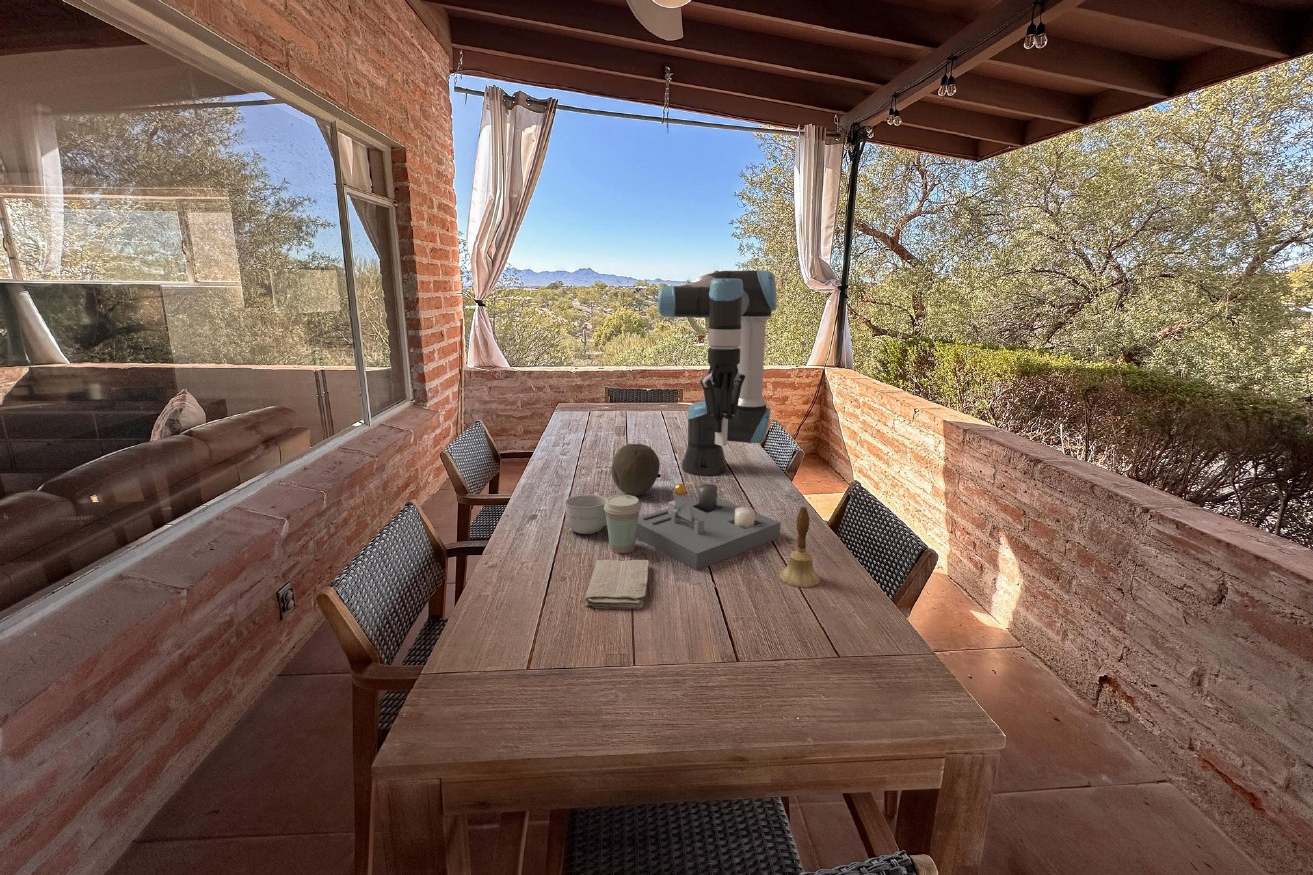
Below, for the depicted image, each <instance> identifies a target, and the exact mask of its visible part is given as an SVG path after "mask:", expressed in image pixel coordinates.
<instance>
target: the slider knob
mask: <svg viewBox="0 0 1313 875" xmlns="http://www.w3.org/2000/svg"><path fill="white" fill-rule="evenodd" d="M667 509H668V514H670V515H671V510H675V509H676V505H675V500H671V501H668V502H667Z"/></svg>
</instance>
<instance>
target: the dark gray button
mask: <svg viewBox="0 0 1313 875" xmlns="http://www.w3.org/2000/svg"><path fill="white" fill-rule="evenodd" d="M717 498H718V486H717V485H715V484H711V483H704V484H703V483H702V484H700V485H699V486H698V499H697V500H698V508H699V509H701V510H705V511H712V510H715V509H716V508H717Z"/></svg>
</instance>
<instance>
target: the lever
mask: <svg viewBox="0 0 1313 875" xmlns="http://www.w3.org/2000/svg"><path fill="white" fill-rule="evenodd" d="M673 489H674V490H673ZM673 489H672V495H673V501H675V505H676V509H677V513H678V514H677V517H678V518H680V519H682V520H684V521H686V522H688V523H691V524H693V525H694V521H695V520H696V518H695V513H694V509H693V505H692V501H693V500H692V497H691V496H692V495H691V494H690V493H687V486H686V485H685V484H683V483H678V484H676V485H675V486H674V488H673Z"/></svg>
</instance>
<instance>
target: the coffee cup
mask: <svg viewBox="0 0 1313 875" xmlns="http://www.w3.org/2000/svg"><path fill="white" fill-rule="evenodd" d="M606 498H607V500H606V503H605V505H604V510H605V512H606V520H607V525H606V526H607V527H606V528H607V535H608V542H609V549H610V551H612V552H613V553H616V554H629V553H631V552H633V551H634V550H635V548H636V542H637V538H636V535H637V527H638V518H639V517H640V516H639V515H640V510H641V509H642V507H641V503H640V501H639V498H638V497H637V496H632V495H629V494H615V495H611V496H609V497H606Z"/></svg>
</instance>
